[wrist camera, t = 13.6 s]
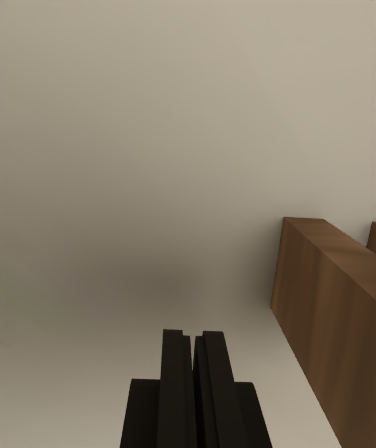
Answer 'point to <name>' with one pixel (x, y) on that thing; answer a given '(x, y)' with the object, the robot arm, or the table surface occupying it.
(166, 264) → the table surface
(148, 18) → the table surface
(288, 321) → the domino
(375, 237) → the domino
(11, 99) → the table surface
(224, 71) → the table surface
